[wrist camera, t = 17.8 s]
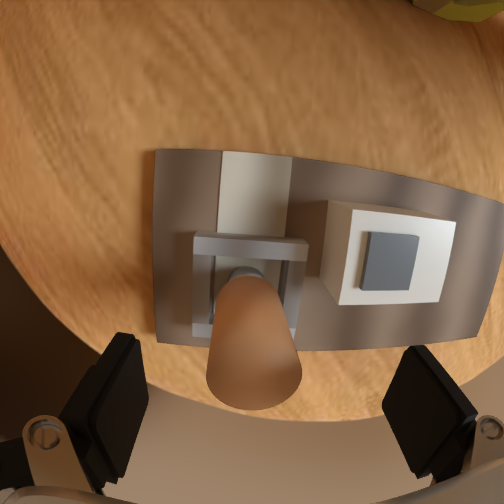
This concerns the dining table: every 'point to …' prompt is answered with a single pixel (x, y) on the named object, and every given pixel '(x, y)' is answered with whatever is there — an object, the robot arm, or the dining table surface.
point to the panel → (304, 247)
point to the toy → (461, 9)
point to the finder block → (384, 254)
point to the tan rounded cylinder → (251, 345)
